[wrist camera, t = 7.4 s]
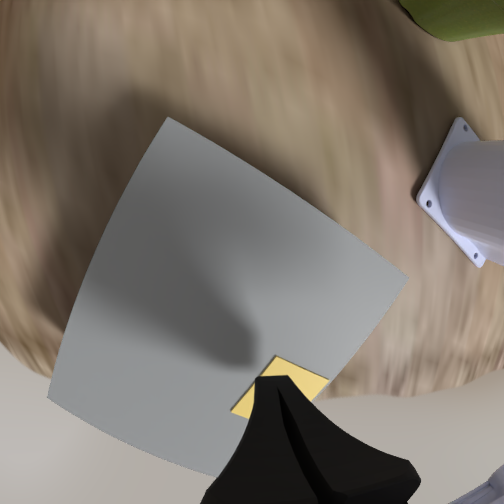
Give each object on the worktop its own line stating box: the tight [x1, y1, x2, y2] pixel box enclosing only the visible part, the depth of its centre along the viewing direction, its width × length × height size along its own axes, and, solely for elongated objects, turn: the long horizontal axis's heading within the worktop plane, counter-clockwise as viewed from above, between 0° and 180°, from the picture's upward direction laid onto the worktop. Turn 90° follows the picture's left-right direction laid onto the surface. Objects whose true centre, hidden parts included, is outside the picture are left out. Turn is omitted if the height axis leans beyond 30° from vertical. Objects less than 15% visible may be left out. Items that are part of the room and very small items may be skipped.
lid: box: [47, 117, 409, 478], centre depth 13 cm, size 12×16×1 cm
